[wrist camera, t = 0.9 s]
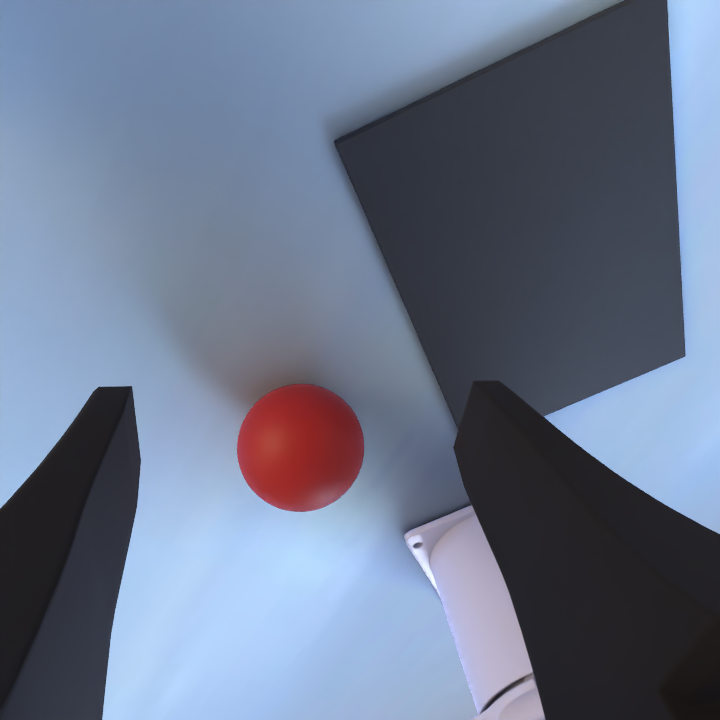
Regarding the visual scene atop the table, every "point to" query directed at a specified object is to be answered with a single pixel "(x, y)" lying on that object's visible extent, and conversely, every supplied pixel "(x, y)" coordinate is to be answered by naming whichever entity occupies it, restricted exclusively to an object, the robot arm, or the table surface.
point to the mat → (537, 213)
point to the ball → (300, 447)
